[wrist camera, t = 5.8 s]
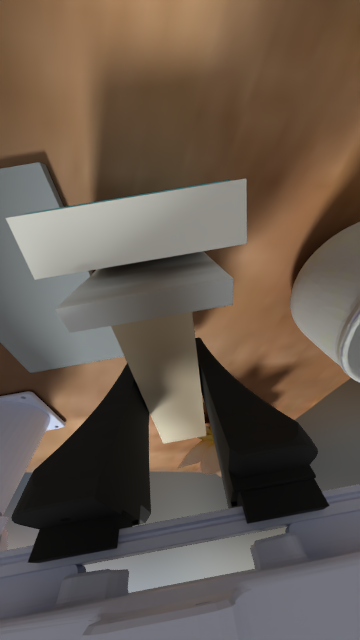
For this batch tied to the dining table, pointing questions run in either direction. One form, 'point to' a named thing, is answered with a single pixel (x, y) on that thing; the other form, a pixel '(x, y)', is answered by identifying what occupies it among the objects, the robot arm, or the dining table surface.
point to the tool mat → (40, 286)
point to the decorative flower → (204, 454)
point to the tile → (132, 228)
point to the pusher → (156, 329)
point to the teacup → (332, 299)
